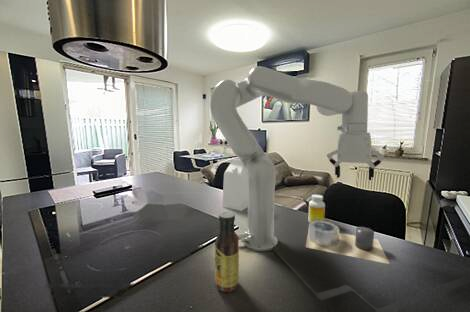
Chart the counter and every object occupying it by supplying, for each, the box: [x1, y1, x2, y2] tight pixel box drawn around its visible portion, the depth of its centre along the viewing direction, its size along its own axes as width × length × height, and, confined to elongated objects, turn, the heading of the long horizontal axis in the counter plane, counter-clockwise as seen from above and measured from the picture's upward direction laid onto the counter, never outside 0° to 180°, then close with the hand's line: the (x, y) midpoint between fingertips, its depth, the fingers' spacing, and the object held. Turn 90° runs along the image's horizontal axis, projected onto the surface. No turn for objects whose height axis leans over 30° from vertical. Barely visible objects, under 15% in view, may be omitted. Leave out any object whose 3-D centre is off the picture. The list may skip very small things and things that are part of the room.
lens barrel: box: [307, 220, 340, 247], centre depth 77 cm, size 10×10×5 cm
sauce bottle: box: [214, 211, 240, 293], centre depth 55 cm, size 7×6×20 cm
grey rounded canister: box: [355, 226, 375, 251], centre depth 72 cm, size 5×5×6 cm
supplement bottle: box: [307, 194, 326, 223], centre depth 92 cm, size 7×7×13 cm
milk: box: [222, 158, 248, 212], centre depth 116 cm, size 12×12×26 cm
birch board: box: [305, 229, 390, 265], centre depth 75 cm, size 24×16×1 cm, turn 67°
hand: (353, 178), depth 74 cm, fingers open, 9 cm apart
